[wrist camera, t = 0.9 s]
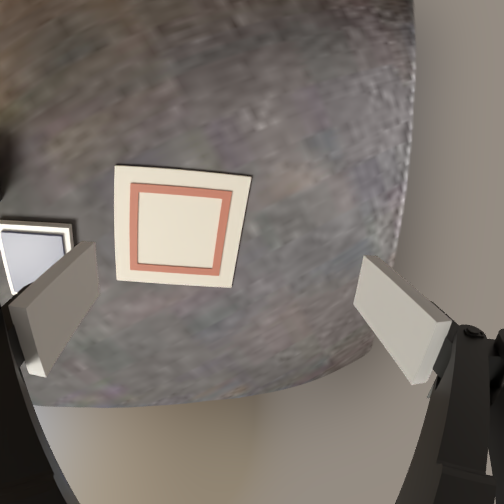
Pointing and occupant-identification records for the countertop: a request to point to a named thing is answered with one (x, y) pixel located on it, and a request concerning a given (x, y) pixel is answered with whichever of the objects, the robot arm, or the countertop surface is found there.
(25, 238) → the ink pad
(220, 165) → the countertop surface
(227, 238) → the print card
